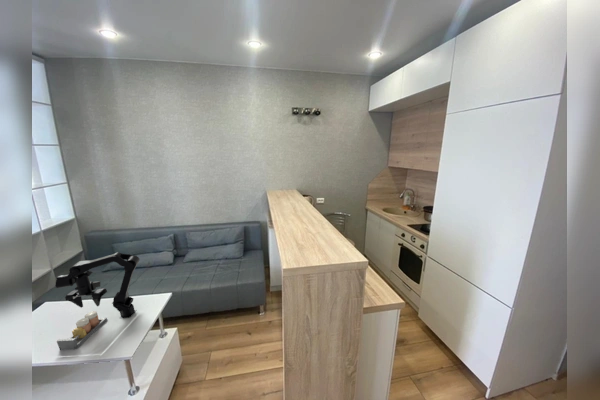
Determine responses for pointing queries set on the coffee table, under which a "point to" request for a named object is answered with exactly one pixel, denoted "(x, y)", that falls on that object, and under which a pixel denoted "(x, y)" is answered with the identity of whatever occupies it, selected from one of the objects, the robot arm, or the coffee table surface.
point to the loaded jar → (84, 324)
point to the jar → (93, 319)
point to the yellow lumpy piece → (79, 333)
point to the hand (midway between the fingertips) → (90, 306)
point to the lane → (75, 343)
